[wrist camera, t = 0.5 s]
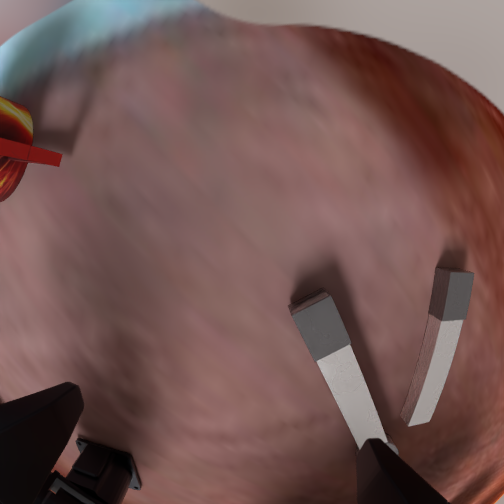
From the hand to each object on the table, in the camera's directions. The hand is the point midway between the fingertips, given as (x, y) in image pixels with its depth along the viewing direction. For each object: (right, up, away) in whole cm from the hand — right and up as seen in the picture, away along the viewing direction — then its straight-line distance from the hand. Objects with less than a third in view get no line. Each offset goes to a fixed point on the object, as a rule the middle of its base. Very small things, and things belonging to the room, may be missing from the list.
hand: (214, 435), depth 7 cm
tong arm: (+9, -6, +13) cm, 17 cm away
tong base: (+16, -3, +13) cm, 20 cm away
